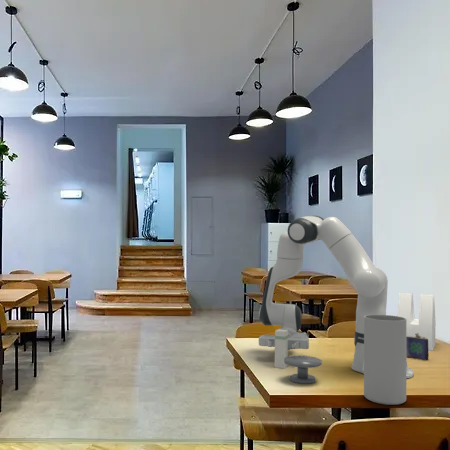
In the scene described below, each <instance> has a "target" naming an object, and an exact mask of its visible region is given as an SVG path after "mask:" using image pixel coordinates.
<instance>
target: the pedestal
mask: <svg viewBox="0 0 450 450" xmlns="http://www.w3.org/2000/svg"><path fill="white" fill-rule="evenodd" d="M284 363H285V364H287V365H288V366H291V367H295V368H297V371H296V372H297V373H293V374H291V375H290V376H289V381H290V382H292V383H295V384H301V385H309V384H314V383H316V382H317V381H316V377H315V376H314V375H312V374H309V368H310V369H311V368H318V367H321V366H322V365H323V364H322V360H321V359H320V358H318V357H315V356H309V355H290V356H288V357H285V358H284Z"/></svg>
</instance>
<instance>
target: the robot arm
mask: <svg viewBox="0 0 450 450" xmlns="http://www.w3.org/2000/svg"><path fill="white" fill-rule="evenodd" d="M318 241H321V242H323V243H324V244H325V246H326V247H327V248H328V250H329V251H330V253H331V254H332V255H333V257H334V258H335V260H336V261H337V262H338V263H339V265H340V267H341V268H342V270H343V272H344V274H345V275H346V277H347V278H348V280H349V282H350V283H351V285H352V286H353V288H354V290H355V292H357V303H356V310H355V331H354V336H353V337H354V338H353V339H354V340H353V341H354V342H353V343H354V346H355V347H354V353H353V359H352V363H351V367H350V368H351V369H352V370H353V371H356V372H359V373H362V374H363V375H364V316H366V315H387V303H388V302H387V301H388V282H389V281H388V280H389V279H388V277H387V274H386V273H385V271H383V270H382V269H380V268H379V267H376V265H375V264H374V263H373V261H372V259H371V258H370V257H369V254H368V253H367V251H366V250H365V248H364V246H362V245H361V244H360V242H359V241H358V239H357V238H356V237H355V236H354V234H353V232H351V229H349V228H348V227H347V226H346V225H345V224H344V223H343V222H342V221H341V220H340V218H337V217H336V216H328V217H326V218H324V217H322V216H319V215H309V216H308V215H306V216H305V215H304V216H302V217H297V218H295V219H293V220H292V221H290V223H289V224H288V227H287V230H285V231H284V232H282V233H281V234H280V236H279V238H278V242H277V243H278V244H277V253H276V262H275V264H274V265H273V266H272V267H269V271H268V274H267V276H266V277H267V278H266V282H265V286H264V291H263V297H262V301H261V304H260V306H259V311H258V312H259V313H258V319H259V321H260V322H261V323H262V324H263V325H264V326H265V327H266V326H268V327H269V326H270V327H271V326H276V327H277V326H279V327H280V328H279V329H282V330H288V351H289V350H297V349H298V350H299V349H300V350H309V349H310V342H309V341H310V339H309V336H308V334H307V333H306V332H305V331H304V332H303V331H300V329H301V328H302V324H303V313H302V310H301V308H300V307H299V306H298V305H297V304H293V303H291V304H290V303H280V302H279V303H278V302H277V303H276V302H273V297H274V292H275V291H274V290H275V287H276V285H277V284H278V283H279V282H281V281H284V280H288V279H290V278H293V277H296V276H297V275H298V274H299V273H300V272H301V270H302V268H303V262H304V261H303V260H304V246H305V245H306V244H307V243H309V244H310V243H311V244H312V243H314V242H318ZM258 346H260V347H268V348H275V334H262V335H260V336H259V337H258ZM414 375H415V374H414V369H412V367H409V365H408V361H407V359H406V379H411V378H412V377H413V376H414Z"/></svg>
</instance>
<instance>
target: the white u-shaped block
mask: <svg viewBox="0 0 450 450" xmlns="http://www.w3.org/2000/svg"><path fill="white" fill-rule="evenodd" d="M398 296H399V297H398V306H397V315H396V316H398V317H403V318H406V319H407V322H406V336H413V337H416V335H415V334H416V333H419V334H418V335H420V336H421V338H423V337H425V338H427V339H428V352H433V349H434V348H435V346H436V309H435V308H436V306H435V294H429V293H428V294H427V293H420V299H419V312H418V318H415V307H414V294H413V293H412V292H399V295H398Z"/></svg>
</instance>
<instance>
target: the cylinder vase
mask: <svg viewBox="0 0 450 450" xmlns="http://www.w3.org/2000/svg"><path fill="white" fill-rule="evenodd" d="M406 322H407V319H406V318H403V317H398V316H397V315H388V314H386V315H366V316H364V374H363V396H364V397H365V399H366V400H369V401H371V402H373V403H376V404H380V405H387V406H388V405H389V406H396V405H401V404H404V403H405V402H406V401H407V378H406V360H407V357H406Z"/></svg>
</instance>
